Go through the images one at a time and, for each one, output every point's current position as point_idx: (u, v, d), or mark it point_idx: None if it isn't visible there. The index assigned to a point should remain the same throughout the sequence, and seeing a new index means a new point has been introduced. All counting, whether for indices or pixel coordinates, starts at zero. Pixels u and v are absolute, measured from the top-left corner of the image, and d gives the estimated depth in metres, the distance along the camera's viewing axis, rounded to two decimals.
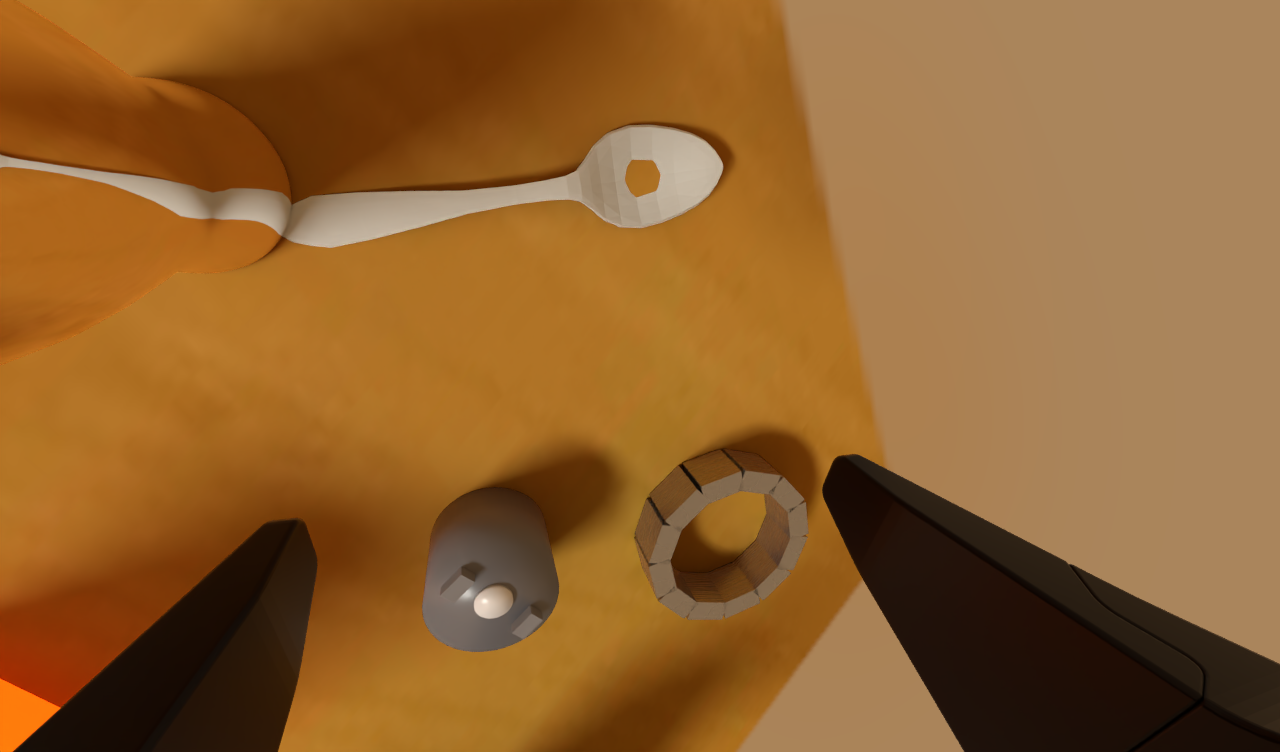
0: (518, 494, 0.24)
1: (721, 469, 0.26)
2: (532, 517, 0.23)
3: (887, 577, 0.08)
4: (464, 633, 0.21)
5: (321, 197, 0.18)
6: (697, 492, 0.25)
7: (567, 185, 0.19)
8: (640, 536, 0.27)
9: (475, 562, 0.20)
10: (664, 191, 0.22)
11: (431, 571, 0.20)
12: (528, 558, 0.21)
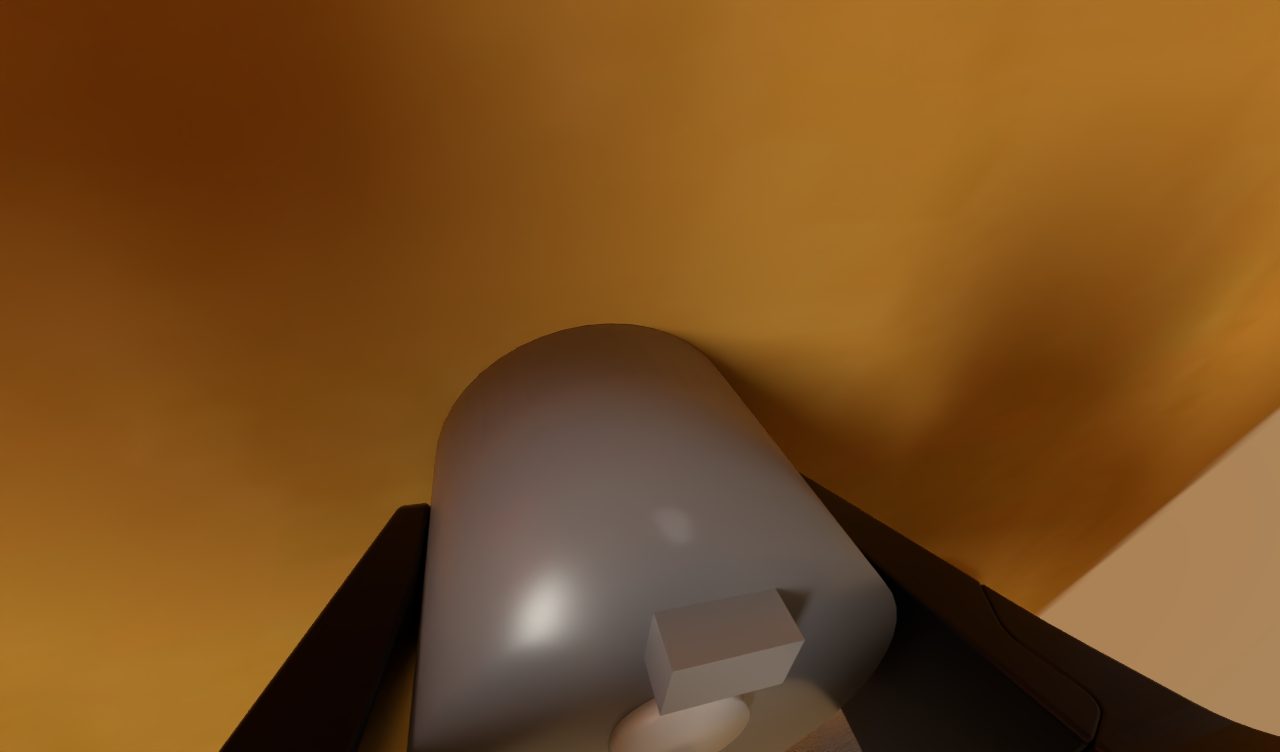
0: None
1: None
2: None
3: None
4: None
5: None
6: None
7: None
8: None
9: (805, 601, 0.05)
10: None
11: (631, 515, 0.04)
12: (856, 664, 0.06)
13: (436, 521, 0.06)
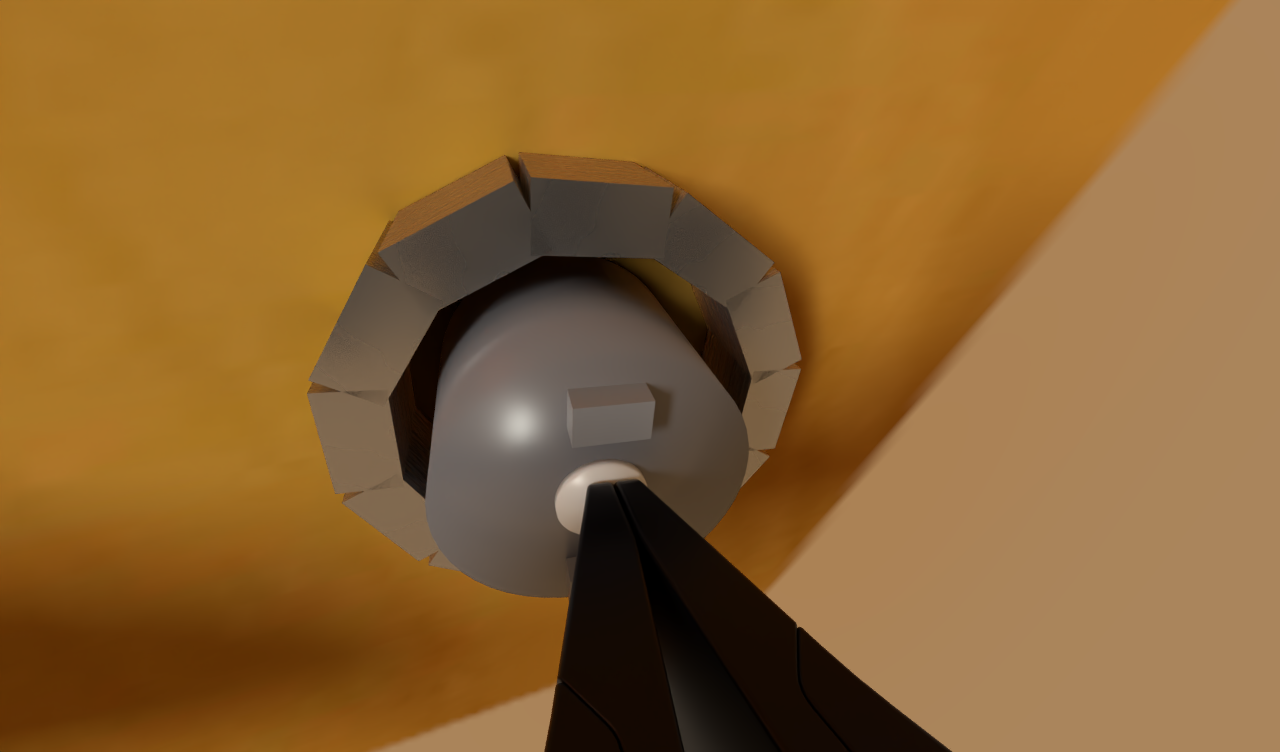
0: None
1: None
2: None
3: None
4: (482, 518, 0.08)
5: None
6: (666, 197, 0.08)
7: None
8: (410, 212, 0.09)
9: (670, 398, 0.08)
10: None
11: (556, 339, 0.07)
12: (727, 466, 0.09)
13: (441, 378, 0.09)
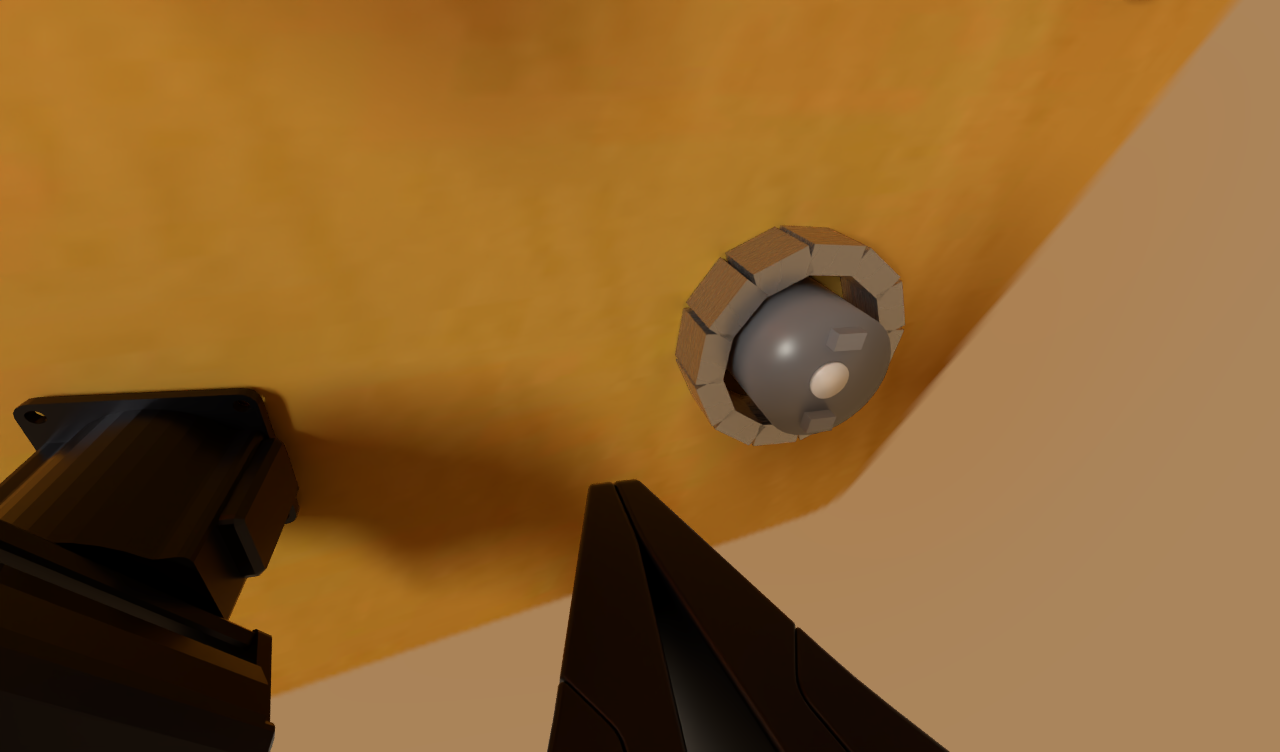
0: None
1: None
2: None
3: None
4: (782, 386, 0.19)
5: None
6: (862, 250, 0.19)
7: None
8: (740, 254, 0.19)
9: None
10: None
11: (822, 308, 0.18)
12: (879, 369, 0.20)
13: (746, 329, 0.20)
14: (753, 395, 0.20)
